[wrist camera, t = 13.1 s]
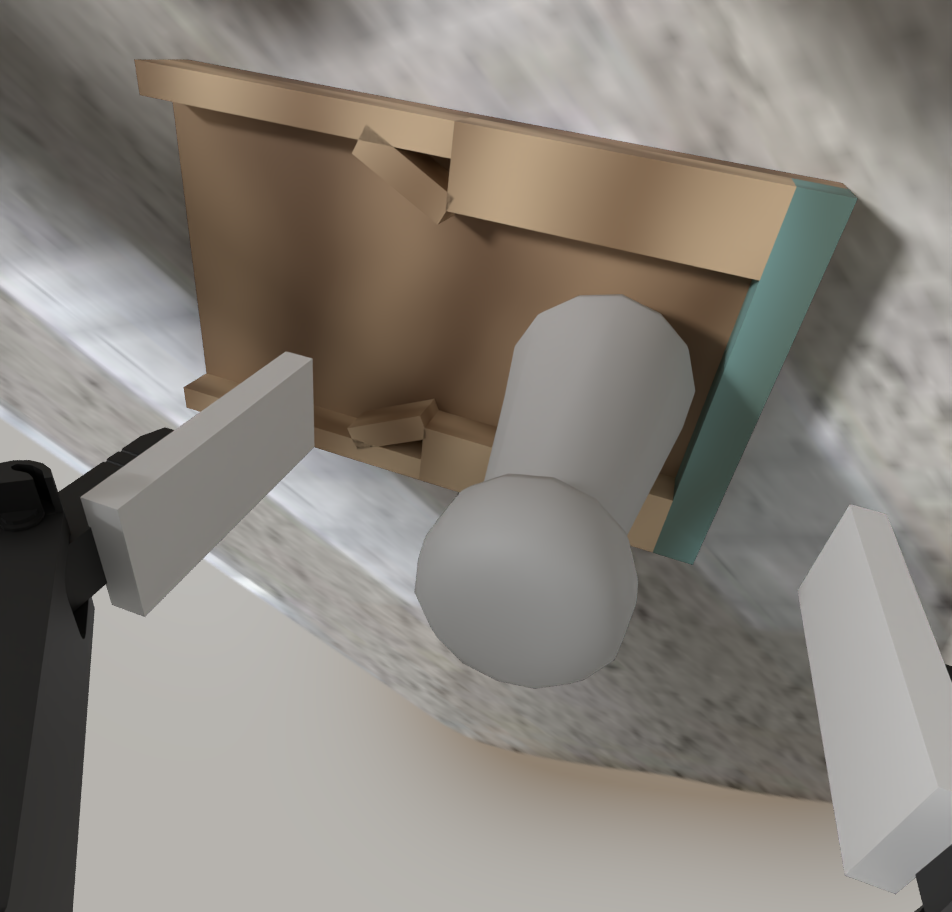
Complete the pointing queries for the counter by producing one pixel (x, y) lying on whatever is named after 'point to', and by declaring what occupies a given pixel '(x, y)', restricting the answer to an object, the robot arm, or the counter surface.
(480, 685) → the counter surface
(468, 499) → the salt shaker
